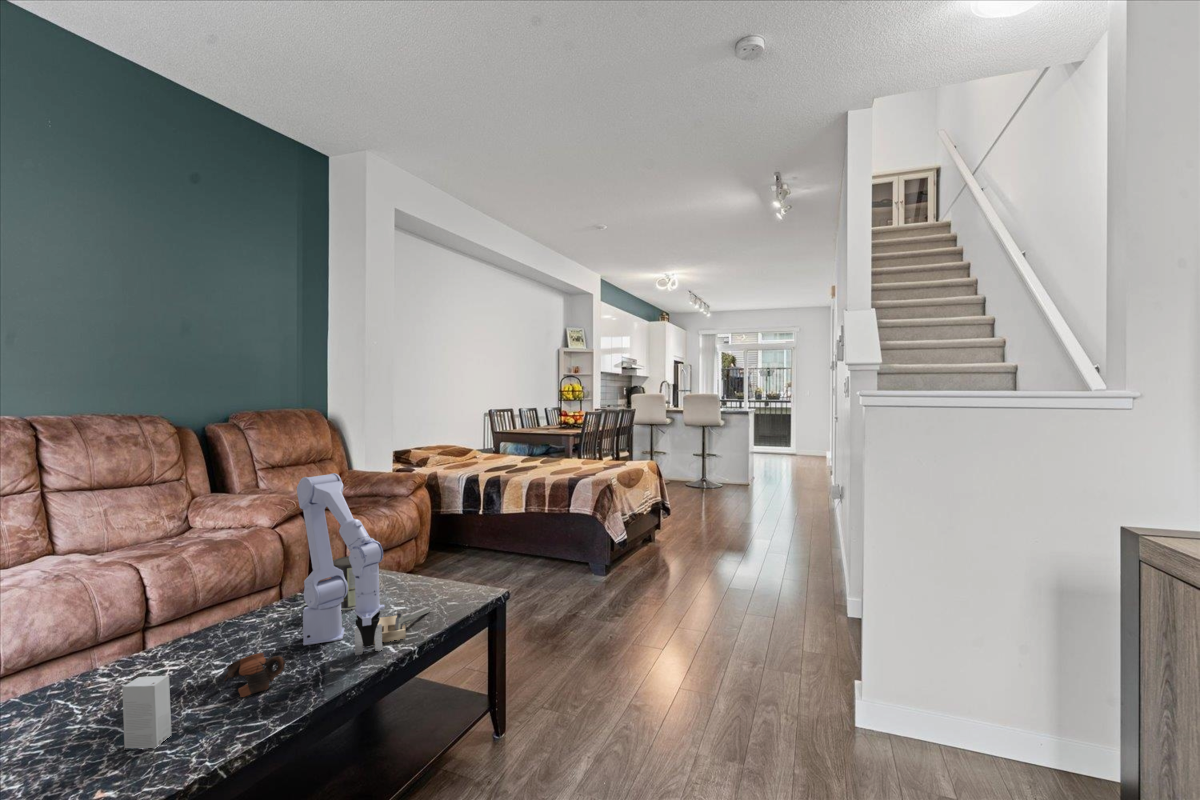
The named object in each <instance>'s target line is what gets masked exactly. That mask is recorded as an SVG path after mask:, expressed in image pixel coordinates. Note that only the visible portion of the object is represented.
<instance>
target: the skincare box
mask: <svg viewBox="0 0 1200 800" xmlns="http://www.w3.org/2000/svg"><path fill="white" fill-rule="evenodd" d="M121 692H122V694H121V695H122V718H123V742H124V743H123V746H124V747H123V748H124V749H125V748H153V747H157V746H158V745H160V744H161V743H162V742H163V741H165V740H166V739H167V738H169V737H170V736H171V737H172V715H171V714H172V713H171V694H170V693H171V692H170V676H169V675H154V676H153V675H151V676H150V675H149V676H139V677H137V678H135V679H133V680H132V681H130V682H128V683H126V684H125V685H124V686H122V687H121ZM171 737H170V738H171ZM170 738H169V739H170ZM166 741H167V740H166ZM166 741H165V742H166ZM160 746H161V745H160Z"/></svg>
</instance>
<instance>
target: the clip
mask: <svg viewBox="0 0 1200 800" xmlns="http://www.w3.org/2000/svg"><path fill="white" fill-rule="evenodd" d="M374 640H375V644H374V650H375V651H378V652H382V651H383V643H382V624H379V625H377V627H376V631H375V637H374ZM381 650H382V651H381ZM375 651H374V652H375ZM363 652H364V645H363V641H362V637H361V633H360V631H359V629H358V627H355V628H354V654H355V656H359V655H363V654H364V653H363Z"/></svg>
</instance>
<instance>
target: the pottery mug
mask: <svg viewBox="0 0 1200 800" xmlns="http://www.w3.org/2000/svg"><path fill="white" fill-rule="evenodd" d="M275 663H276V664H277V666H276V669H275V670H274V665H275ZM264 665H265V667H264ZM285 666H286V661H284V657H282V656H280V655H275V656H274V655H273V656H271V657H269V658H266V657H265V654H264V653H263V652H259V653H255V654H251V655H249V656H245V657H243V658H240V659H238V660H235V661H234V662H231V663H230V664H228V665H227V666H226V669H227V670H228V671H227V673H226V675H225V677H224V678H225V679H224V682H226V681H227V680H228V679H229V678H236V677H239V676H242V677H243V676H244V678H245V681H246V684H245V685H242V686H240V687H239V688H238V689H237V691H238V693H239V696H240V698H241V697H243V698H245V697H248V696H250V695H252V694H255V693H260V692H263V691H266V690H269V688H270V687H269V686H270V682H274V681H275V678H276V677H277V676H279V675H280V674H281V673H282V672H283V670H284V669H285Z"/></svg>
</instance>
